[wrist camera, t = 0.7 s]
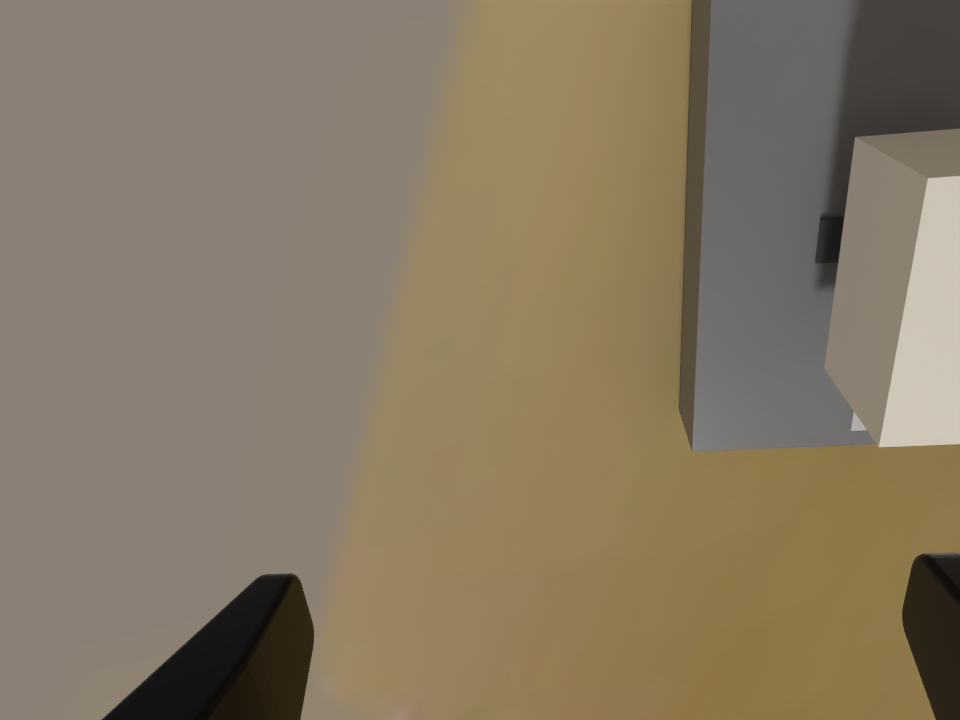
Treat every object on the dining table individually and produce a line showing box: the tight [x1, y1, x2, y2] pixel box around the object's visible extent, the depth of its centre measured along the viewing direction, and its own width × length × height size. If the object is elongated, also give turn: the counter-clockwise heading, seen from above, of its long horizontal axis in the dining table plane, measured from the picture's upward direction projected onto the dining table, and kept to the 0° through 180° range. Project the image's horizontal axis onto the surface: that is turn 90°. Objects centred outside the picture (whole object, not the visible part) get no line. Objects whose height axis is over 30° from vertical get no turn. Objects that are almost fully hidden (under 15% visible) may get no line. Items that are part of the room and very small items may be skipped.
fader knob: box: [824, 129, 960, 447], centre depth 14 cm, size 3×5×4 cm, turn 5°
